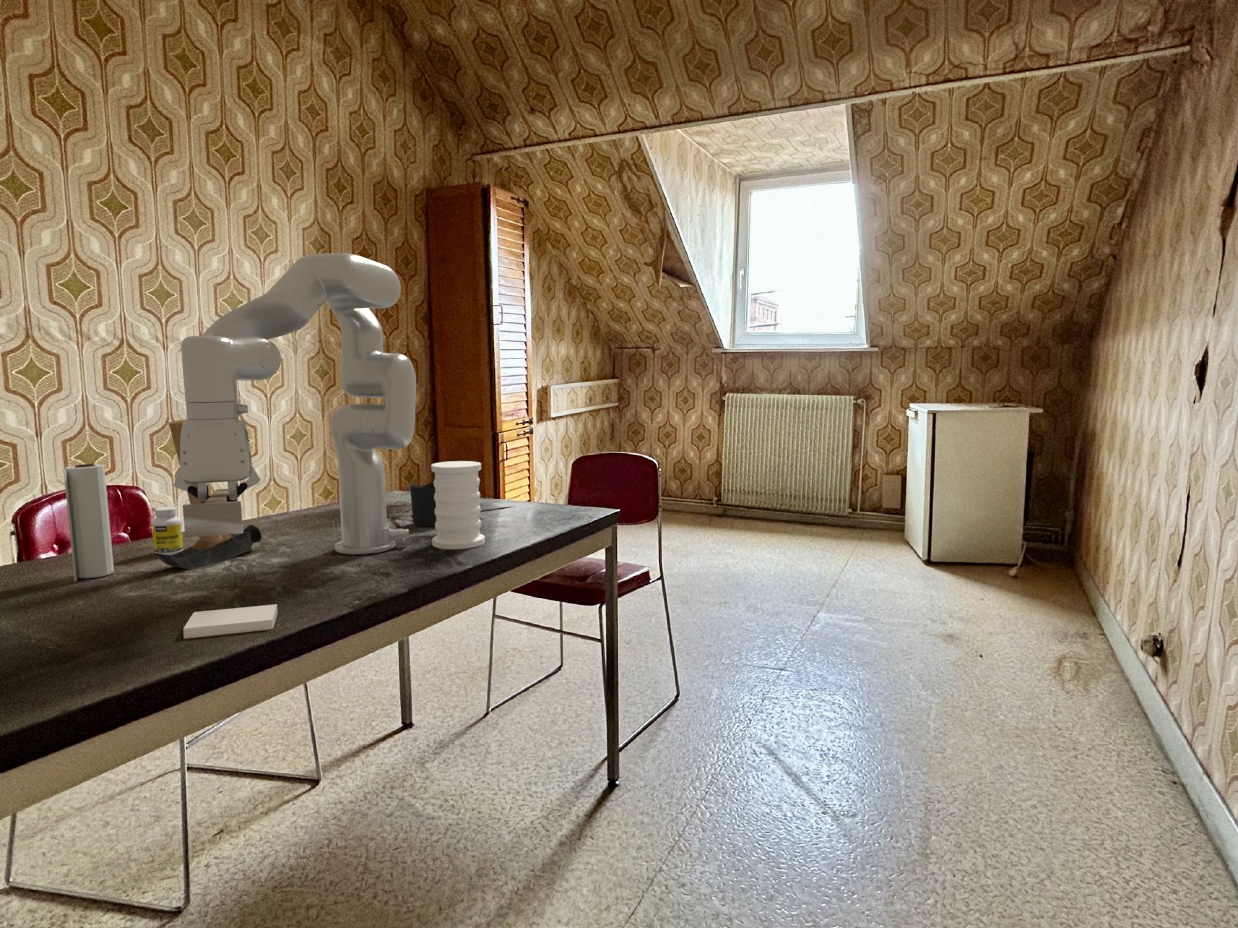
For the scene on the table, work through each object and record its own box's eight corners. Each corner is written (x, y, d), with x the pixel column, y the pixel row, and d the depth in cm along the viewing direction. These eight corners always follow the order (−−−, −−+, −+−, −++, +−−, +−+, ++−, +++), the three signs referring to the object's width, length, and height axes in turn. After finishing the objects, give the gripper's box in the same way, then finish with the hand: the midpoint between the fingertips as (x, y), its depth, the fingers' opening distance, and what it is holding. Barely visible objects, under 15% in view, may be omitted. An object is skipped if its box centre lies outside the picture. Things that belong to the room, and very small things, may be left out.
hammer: (178, 583, 148) (136, 435, 139) (161, 580, 150) (119, 434, 141) (264, 543, 165) (231, 409, 156) (248, 541, 167) (215, 408, 158)
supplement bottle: (153, 557, 160) (149, 511, 158) (155, 551, 164) (151, 507, 163) (183, 554, 162) (179, 509, 161) (184, 548, 167) (180, 505, 166)
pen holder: (444, 527, 188) (443, 487, 186) (407, 527, 188) (405, 487, 187) (453, 519, 197) (452, 481, 196) (417, 519, 197) (416, 481, 196)
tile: (277, 604, 123) (272, 619, 116) (277, 616, 124) (272, 632, 116) (193, 612, 120) (183, 628, 112) (194, 624, 120) (184, 641, 112)
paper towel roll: (108, 568, 151) (97, 462, 148) (118, 574, 147) (108, 464, 144) (64, 576, 145) (53, 466, 142) (74, 582, 141) (63, 468, 138)
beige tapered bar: (201, 518, 131) (199, 490, 130) (252, 515, 134) (250, 487, 133) (185, 537, 117) (182, 505, 117) (242, 533, 120) (240, 502, 119)
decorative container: (457, 535, 179) (454, 459, 177) (495, 540, 173) (493, 462, 171) (421, 545, 169) (418, 465, 167) (460, 551, 163) (457, 469, 161)
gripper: (268, 410, 130) (275, 515, 132) (161, 412, 124) (170, 522, 127) (265, 412, 123) (272, 524, 125) (150, 415, 117) (160, 532, 120)
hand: (221, 522), depth 126 cm, fingers closed on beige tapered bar, 2 cm apart
